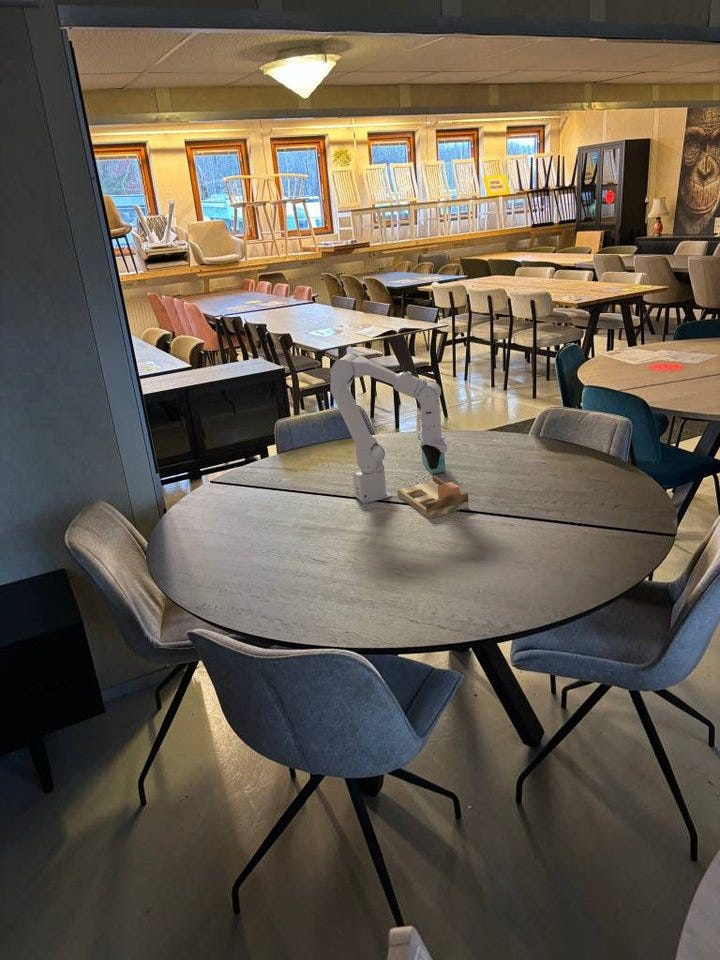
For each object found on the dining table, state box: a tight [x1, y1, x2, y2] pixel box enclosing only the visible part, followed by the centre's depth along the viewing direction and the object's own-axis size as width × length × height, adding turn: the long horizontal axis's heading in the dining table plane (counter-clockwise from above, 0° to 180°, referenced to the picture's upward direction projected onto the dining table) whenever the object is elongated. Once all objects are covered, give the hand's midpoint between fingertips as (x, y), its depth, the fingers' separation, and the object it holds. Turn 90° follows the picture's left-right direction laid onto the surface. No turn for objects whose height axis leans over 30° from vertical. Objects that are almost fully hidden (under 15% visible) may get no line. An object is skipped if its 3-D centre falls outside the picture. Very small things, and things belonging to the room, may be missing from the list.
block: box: [438, 481, 461, 499], centre depth 194 cm, size 4×4×4 cm
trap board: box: [397, 475, 469, 519], centre depth 199 cm, size 13×20×4 cm, turn 22°
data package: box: [420, 431, 446, 475], centre depth 223 cm, size 12×4×12 cm, turn 11°
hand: (433, 468), depth 199 cm, fingers closed
